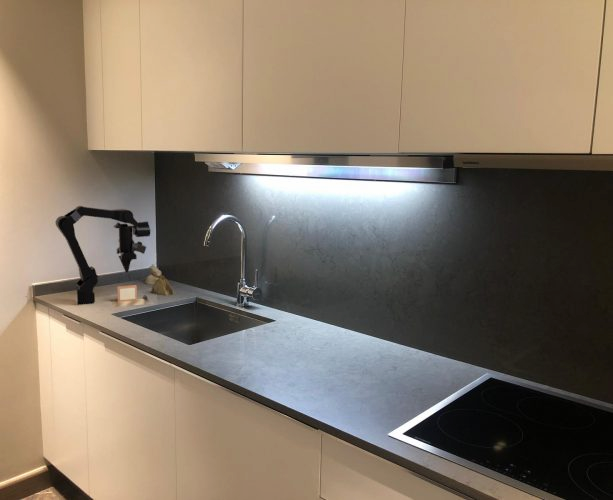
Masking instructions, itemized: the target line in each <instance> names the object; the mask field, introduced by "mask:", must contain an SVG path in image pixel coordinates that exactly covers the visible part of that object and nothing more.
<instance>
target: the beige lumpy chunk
mask: <svg viewBox="0 0 613 500" xmlns="http://www.w3.org/2000/svg"><path fill="white" fill-rule="evenodd" d="M149 270H150V274H149V275H148V276H147V277H146V278H145V280H144V284H147V285H154V283H155V282H156V281H157V280H158V279H159V278H160V277H161V275H162V274H163V273H162V270H160V269H158V268H157V266H156V265H155V264H151V265H150V266H149Z"/></svg>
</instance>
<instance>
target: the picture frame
mask: <svg viewBox="0 0 613 500" xmlns="http://www.w3.org/2000/svg"><path fill="white" fill-rule="evenodd" d="M137 286H138V285H136V284H134V285H133V284H131V285H119V286H116V289H117V292H116V293H117V294H116V295H117V296H116V297H117V301H118V302H124V301H135V300H137V299H138V293H137V292H138V291H137V289H138V288H137Z"/></svg>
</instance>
